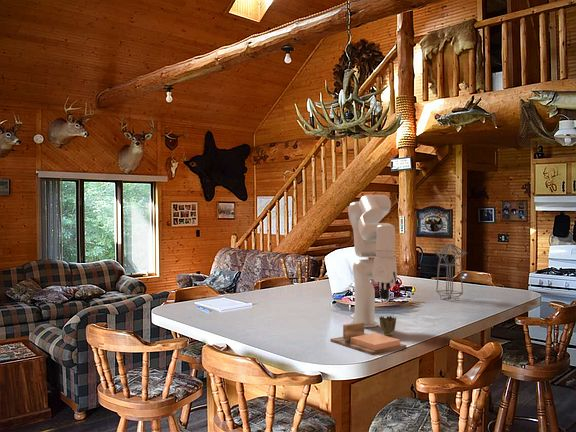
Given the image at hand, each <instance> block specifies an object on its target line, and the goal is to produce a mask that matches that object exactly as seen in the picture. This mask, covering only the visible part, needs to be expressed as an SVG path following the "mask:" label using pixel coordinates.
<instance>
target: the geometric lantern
mask: <svg viewBox="0 0 576 432" xmlns="http://www.w3.org/2000/svg"><path fill="white" fill-rule="evenodd" d="M440 250H441V251H440ZM433 253H435V254H436V256H437V257H439V258H438V263H437V274H436V275H437V279H436V288H435V289H436V291H435V292H436V293H437V294H438V295H439V296H440V297H443V298H447V299H449V300H450V299H451V298H452V297H454V295H455V298H459V297H461V296H462V295H463V294H464V290H463V289H464V288H463V264H462V261H461V259H462V258H463V257H464V256H465V255H467V254H468V252H467V251H465V250H463V249H461V248H460V247H458V246H457V245H455V244H453V243H448V244H446V245H444V246H442V247H441V248H438V249H436V250H435V251H433ZM449 254H451V255H452V257H453V259H454V260H451V262H449V260H448V259H447V258H446V257H447V256H448V255H449ZM442 259H443V260H444V262H445V264H444V267H445V266H446V280H445V281H446V283H445V289H444V290H441V291H440V290H438V288H439V277H440V268H441V266H443V263H441V261H442ZM458 259H459V263H460V264H455V262H456V261H457V260H458ZM456 266H457V267H459V268H460V269H459V270H460V281H461V285H460V286H461V291H459V290H458V291H456V290H454V267H456ZM449 289H450V290H449ZM441 294H443V295H441ZM451 300H452V299H451Z"/></svg>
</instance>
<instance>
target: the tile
mask: <svg viewBox="0 0 576 432" xmlns="http://www.w3.org/2000/svg"><path fill="white" fill-rule="evenodd" d="M366 334H367V335H362V336H356V337H351V343H352V344H356V345H359V346H362V347H365V348H368V349H372V350H380V349H385V348H389V347H394V346H399V345H400V343H401V339H399V338H395V337H391V336H385V335H384V334H380V333H379V334H377V332H373V333H366Z"/></svg>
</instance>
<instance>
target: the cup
mask: <svg viewBox="0 0 576 432" xmlns="http://www.w3.org/2000/svg"><path fill="white" fill-rule="evenodd" d="M378 321H379V327H380V328H379V329H380V330H381V331H382V332H383V334H382V335H384V336H388V337H391V336H392V335H393V333H394V331H395V330H396V325H397V324H396V323H397V317H395V316H393V317H392V316H391V315H390V316H386V317H384V315H383V316H382V315H381V316H380V317H379V320H378Z"/></svg>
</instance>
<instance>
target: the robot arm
mask: <svg viewBox="0 0 576 432" xmlns="http://www.w3.org/2000/svg"><path fill="white" fill-rule="evenodd" d="M347 208H348V213H347V214H348V219H349V221H350V222H349V223H350V224H351V227H352V231H353V244H354V253H355V255H356V256H357V257H358V258H369V259H358V260H356V261H355V262H354V263H353V265H352V270H353V271H352V273H353V279H354V313H352V314H351V315H350V319H352V321H351V323H357V322H363V323H364V329H365V328H369V329H370V328H375V327H378V322H377V321H376V320H375V307H376V305H375V304H376V303H375V301H376V300H375V298H376V297H375V296H376V295H375V293H376V292H375V291H376V290H375V286H374V284H373V283H372V282H371V281H370V280H372V281H374V283H375V284H376V285H377V284H378V287H379V289H380V299H381V300H389V298H390V290H391V287H395V286H396V283H397V280H398V279H397V278H398V269H397V268H398V267H397V260H396V257H395V256H396V255H395V254H396V247H395V246H396V245H395V244H396V228H395V226H394V225H393V224H392V223H389V222H380V221H382V219H383V218H384V217H385V216H387V215H388V214H389V213H390V211H391V208H392V202H391V199H390V198H389V196H388V195H385V194H366V195H363V196H361V197H360V198H359V201H352V202H351V203H350V204H349V205H348V207H347ZM370 258H372V259H370ZM373 258H374V259H373ZM351 323H350V324H351Z"/></svg>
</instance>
